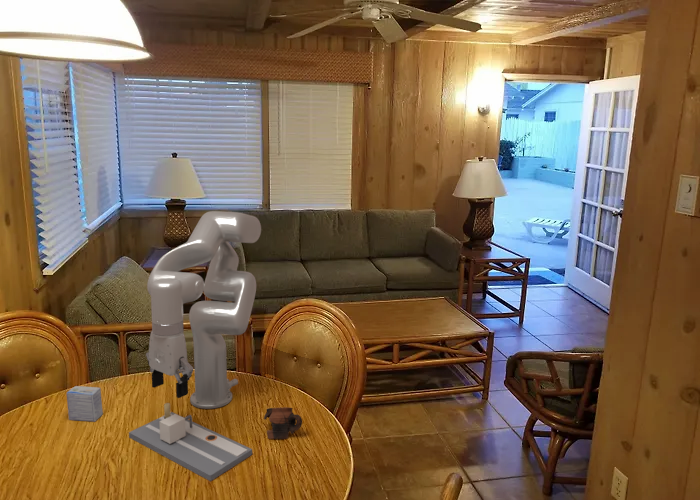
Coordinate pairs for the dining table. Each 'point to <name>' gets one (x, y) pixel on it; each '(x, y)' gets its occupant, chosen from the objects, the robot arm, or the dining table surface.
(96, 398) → the medicine box
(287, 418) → the pottery mug
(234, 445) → the gauge board
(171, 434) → the white block with pointer
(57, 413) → the dining table surface
